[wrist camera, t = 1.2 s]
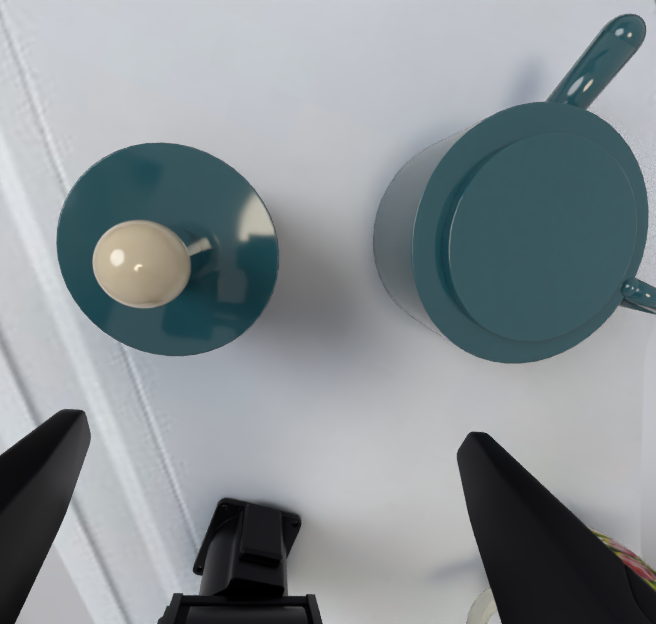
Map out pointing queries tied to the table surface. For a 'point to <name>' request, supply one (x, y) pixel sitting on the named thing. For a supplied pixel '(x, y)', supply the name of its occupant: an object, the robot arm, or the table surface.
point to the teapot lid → (167, 249)
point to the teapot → (523, 220)
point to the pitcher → (486, 602)
